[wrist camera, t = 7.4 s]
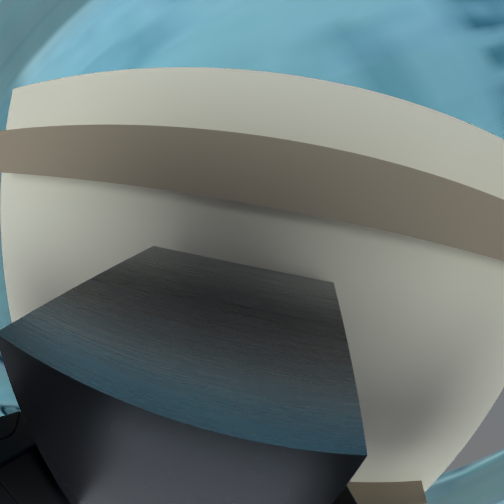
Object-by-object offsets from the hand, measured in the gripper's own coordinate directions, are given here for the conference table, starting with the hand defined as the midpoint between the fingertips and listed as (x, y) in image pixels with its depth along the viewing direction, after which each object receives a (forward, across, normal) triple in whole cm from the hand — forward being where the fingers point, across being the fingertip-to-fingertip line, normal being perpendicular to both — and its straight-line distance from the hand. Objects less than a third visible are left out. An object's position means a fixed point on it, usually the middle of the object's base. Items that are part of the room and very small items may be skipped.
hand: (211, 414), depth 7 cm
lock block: (+1, 0, 0) cm, 1 cm away
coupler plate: (+4, 0, 0) cm, 4 cm away
